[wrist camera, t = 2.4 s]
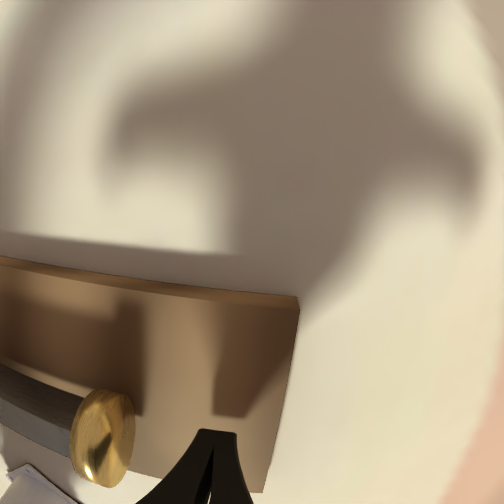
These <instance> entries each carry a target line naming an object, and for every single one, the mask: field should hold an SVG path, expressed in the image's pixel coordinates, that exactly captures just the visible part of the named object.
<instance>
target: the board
mask: <svg viewBox="0 0 504 504" xmlns="http://www.w3.org/2000/svg"><path fill="white" fill-rule="evenodd" d="M299 313H300V307H299V304H298V300H297V297H291V296H280V295H269V294H259V293H249V292H240V291H231V290H222V289H213V288H204V287H196V286H188V285H180V284H172V283H164V282H157V281H149V280H142V279H135V278H128V277H121V276H114V275H107V274H101V273H94V272H88V271H82V270H76V269H69V268H63V267H58V266H52V265H46V264H40V263H35V262H29V261H24V260H19V259H13V258H8V257H3V256H0V363H1V364H3V365H5V366H7V367H9V368H11V369H13V370H15V371H18V372H20V373H22V374H24V375H27V376H29V377H31V378H34V379H36V380H38V381H41V382H43V383H46V384H48V385H51V386H53V387H56V388H59V389H61V390H64V391H67V392H70V393H72V394H75V395H78V396H81V397H84V398H85V397H86V396H87V395H88V394H89V393H90V392H91V391H93V390H95V389H99V388H101V389H105V390H108V391H112V392H115V393H119V394H123V395H126V396H128V397H129V398H130V400H131V401H132V404H133V407H134V411H135V421H136V429H135V441H134V447H133V452H132V456H131V460H130V463H129V466H128V468H127V470H129V471H133V472H136V473H140V474H144V475H148V476H152V477H156V478H160V479H163V478H164V477H165V476H166V475H167V474H168V473H169V472H170V471H171V470H172V468H173V467H174V466H175V465H176V464H177V462H178V461H179V460H180V458H181V457H182V456H183V454H184V453H185V452H186V450H187V449H188V447H189V446H190V444H191V443H192V441H193V439H194V437H195V436H196V434H197V432H198V430H199V429H201V428H205V429H212V430H219V431H227V432H235V433H236V434H237V449H238V455H239V461H240V465H241V469H242V472H243V476H244V479H245V482H246V485H247V488H248V491H249V492H252V493H263V489H264V485H265V481H266V477H267V473H268V469H269V465H270V460H271V456H272V452H273V447H274V443H275V439H276V434H277V430H278V425H279V420H280V416H281V411H282V406H283V401H284V396H285V391H286V386H287V381H288V376H289V371H290V365H291V360H292V354H293V349H294V343H295V337H296V332H297V326H298V320H299Z"/></svg>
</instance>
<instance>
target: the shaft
mask: <svg viewBox="0 0 504 504" xmlns="http://www.w3.org/2000/svg"><path fill="white" fill-rule="evenodd" d="M0 423H2V424H4V425H5V426H7V427H9V428H10V429H12V430H14V431H16V432H17V433H19V434H21V435H23V436H25V437H26V438H28V439H30V440H32V441H34V442H36V443H38V444H40V445H42V446H44V447H46V448H48V449H50V450H53V451H55V452H57V453H59V454H61V455H64V456H66V457H68V458H71V461H72V465H73V467H74V470H75V471H76V473H77V474H78V475H79V476H80V477H81V478H83V479H85V480H88V481H91V482H93V483H96V484H99V485H101V486H104V487H107V488H112V487H115V486H116V485H117V484H118V483H119V482H120V481H121V480H122V478H123V477H124V475H125V473H126V471H127V468H128V466H129V463H130V460H131V456H132V452H133V447H134V441H135V429H136V421H135V411H134V407H133V404H132V401H131V400H130V398H129V397H128V396H126V395H123V394H119V393H115V392H112V391H108V390H105V389H101V388H99V389H95V390H93V391H91V392H90V393H89V394H88V395H87V396H86V397H85V398H84V397H81V396H78V395H75V394H72V393H70V392H67V391H64V390H61V389H59V388H56V387H53V386H51V385H48V384H46V383H43V382H41V381H38V380H36V379H34V378H31V377H29V376H27V375H24V374H22V373H20V372H18V371H15V370H13V369H11V368H9V367H7V366H5V365H3V364H1V363H0Z"/></svg>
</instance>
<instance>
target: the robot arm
mask: <svg viewBox="0 0 504 504" xmlns="http://www.w3.org/2000/svg"><path fill="white" fill-rule="evenodd" d="M6 477H7V478H8V479H9V480H10V481H11V482H12V484H11V485H10V486H9V488H8V489H7V491H6V492H5V493H4V495H3V496H2V498H1V499H0V504H78V503H77V502H75V501H74V500H72V499H71V498H70V497H68V496H67V495H66V494H64V493H63V492H62V491H61V490H59V489H58V488H57V487H56V486H54V485H53V484H52V483H51V482H49V481H48V480H47V479H46V478H45V477H43V476H42V475H41V474H40V473H39V472H38V471H37V470H35V469H34V468H33V467H32V466H31V465H29V464H26V465H24V466H22V467H20V468H18V469H16V470H14V471H12V472H10V473H7V474H6ZM210 493H211V497H210V502H209V504H254V503H253V501H252V498H251V496H250V493H249V491H248V488H247V485H246V482H245V479H244V476H243V472H242V469H241V465H240V461H239V455H238V449H237V434H236V433H235V432H227V431H219V430H212V429H205V428H201V429H199V430H198V432H197V434H196V436H195V437H194V439H193V441H192V443H191V444H190V446H189V447H188V449H187V450H186V452H185V453H184V454H183V456H182V457H181V458H180V460H179V461H178V462H177V464H176V465H175V466H174V467H173V468H172V470H171V471H170V472H169V473H168V474H167V475H166V476H165V477H164V478H163V480H162V481H161V482H160V483H159V484H158V485H157V486H156V487H155V488H153V489H152V490H151V491H150V492H149V493H148V494H147V495H146V496H144V497H143V498H142V499H141V500H140V501H138V502H137V503H136V504H207V503H208V500H209V496H210Z"/></svg>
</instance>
